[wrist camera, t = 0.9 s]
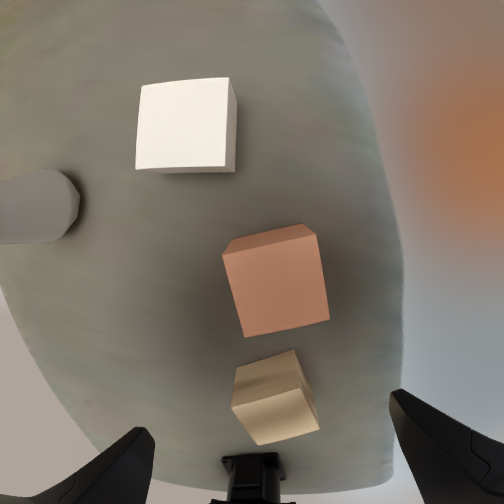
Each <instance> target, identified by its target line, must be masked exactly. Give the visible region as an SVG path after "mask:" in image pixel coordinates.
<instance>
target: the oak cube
mask: <svg viewBox="0 0 504 504" xmlns="http://www.w3.org/2000/svg"><path fill="white" fill-rule="evenodd" d="M230 408H231V409H232V410H233V412H234V413H235V415H236V416H237V418H238V419H239V420H240V422H241V423H242V425H243V426H244V427H245V429H246V430H247V431H248V433H249V434H250V435H251V437H252V438H253V439H254V441H255V442H256V443H257V445H258V446H259V445H263V444H268V443H272V442H276V441H280V440H284V439H288V438H292V437H296V436H299V435H303V434H306V433H309V432H313V431H316V430H319V429H320V428H319V423H318V418H317V413H316V408H315V403H314V398H313V393H312V389H311V387H310V385H309V383H308V380H307V378H306V376H305V374H304V371H303V369H302V367H301V365H300V362H299V360H298V358H297V355H296V353H295V351H294V349H292V350H289V351H287V352H284V353H281V354H278V355H275V356H272V357H269V358H266V359H263V360H260V361H257V362H254V363H251V364H247V365H244V366H241V367H238V368H236V375H235V381H234V387H233V394H232V400H231V406H230Z"/></svg>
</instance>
